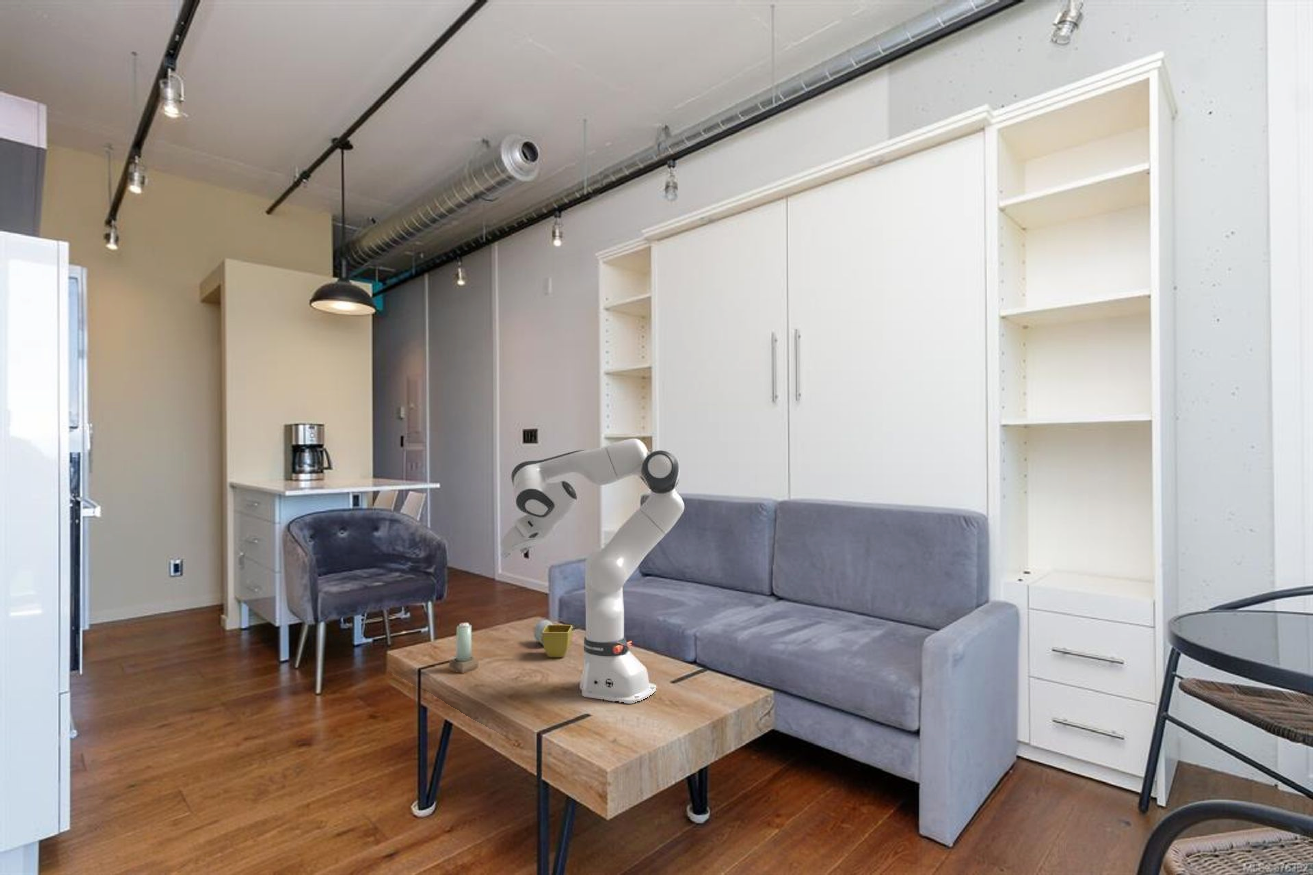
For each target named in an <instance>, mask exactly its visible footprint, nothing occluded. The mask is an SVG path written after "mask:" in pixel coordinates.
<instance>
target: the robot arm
mask: <svg viewBox="0 0 1313 875" xmlns="http://www.w3.org/2000/svg"><path fill="white" fill-rule="evenodd" d="M570 473H578V474H580V475H582V476H583V477H584V478H586V479H587V481H588V482H590V483H593V484H594V485H596V486H597V485H598V486H606V485H610V484H613V483H615V482H618V481H620V480H623V479H625V478H627V477H628V478H629V477H631V476H639V478H640V479H641V480H642V482H643V483H644V484H645V485H646V486H647V488H649V490H650V493H649V496H648V497H647V499H646V500H645V501H644V503H642V504H641V505H640V506H639V507H638V509H636V511H634V512H633V514H632V515H631V516H629V518H628V519H627V520H626V521H625V522H623V524H622V525H621V526H619V528H618V530H617V531H616V532H615V534H614V535H613V537H612V538H611V539H610V540H609V542H608V543H607V544H606V545H605V546H604V547H599V548H596V549H594V550H592V551H591V552H590V553H589V554H588V556H587V557H586V560H585V563H584V584H585V585H584V588H585V589H584V590H585V592H584V593H585V635H584V637H583V651H584V664H583V669H582V675H581V679H580V682H579V683H580V684H579V689H580V690H581V696H582V697H584V698H591V699H597V700H603V699H604V700H603V701H608V702H609V701H611V702H615V701H619V702H618V703H621V702H624V703H623V704H629V705H631V704H635V702H636V703H638V702H637V701H640V702H642V701H644V700H643V699H645V698H647V697H648V698H650V697H651V696H650V695H652V694H653V693H654V692H655V691H656V692H657V690H656V688H657V685H656V684H654V683H653V682H652V683H651V682H650V679H649V675H648V674H649V672H648V669H647V668H646V666H645V665H644V664H643V663H642V662H640V661H639V659H638V658H636V656H635V655H634V654H633V653H632V652H631V651H630V648H629V646H632V645H633V644H632V640H630V641H627V639H626V636H625V634H624V633H625V607H624V592H623V591H624V590H623V587H624V585H625V583H626V582H627V581H628V580H629V579H630V577H631V576H632V575H633V573H634V572H635V571H636V569H637V568H639V565H640V564H641V562H642V561H643V560H644V558H645V557H647V555H648V554H649V553H650V552H651V551H652V550H653V548H655V547H656V545H657V544H658V543H659V542H660V541H661V540H662V539H663V538H664V537H665V536H666V535H667V534H668V533H669V532H670V531H671V529H672V528H673V527H674V526H675V525H676V523H677V522H678V521H679V519H680V518H681V516H682V515H683V513H684V510H685V503H684V501H683V499H682V497H681V495H680V494H678V493H677V492H678V491H676V487H677V485H678V483H679V481H680V477H681V476H680V475H681V470H680V465H679V463H678V460H677V458H676V457H675V456H674V455H673V454H672V453H671V452H669V451H667V450H654V451H652V452H649V451H648V448H647V446H646V445H645V443H644V442H642V441H641V440H640V439H638V438H629V439H624V440H619V441H615V442H613V443H609V444H607V445H605V446H603V447H598V448H595V449H590V450H589V449H580V450H574V451H570V452H566V453H563V454H560V455H556V456H552V457H548V458H545V459H539V460H526V461H524V462H523V461H522V462H521V463H519V464H517V465H516V466H515V467H514V468H513V470H512V471H511V476H510V478H511V482H512V486H513V492H514V499H515V503H516V507H517V509H518V510H520V511H521V512H522V513H524V514H525V515H524V516H521V517H520V518H517V519H516V520H515V521H514V525H513V526H511V528H510V529H509V530H508V531H507V532H506V533H505V535H504V536H503V537H502V539H501V541H500V546H501V547H502V549H503V551H501V557H502V558H505V559H506V558H508V557H509V556H510V555H511V552H513V551H516V550H519V552H520V553H521V554H526V553H527V552H528V551H529V550H530V549H532V548H533V547H534V546H539V545H542V544H544V543H545V542H546V541H547V540H548V539H549V538H550V537H551V535H552V534H553V532H554V530H555V529H556V527H557V526H558V524H559V523H560V521H563V520H564V519H565V518H566V517H567V515H568V514H570V512H571V511H572V509H573V508H574V506H575V505H576V503H577V501H578V497H577V496H578V494H577V492H576V490H575V488H574V487H573V486H572V484H570V483H569V482H568V481H565V480H561V481H559V482H547V481H548V480H549V479H551V478H555V477H558V476H562V475H563V476H564V475H566V474H570ZM657 689H658V688H657ZM656 692H655V693H656ZM655 693H654V694H655ZM654 694H653V695H654ZM653 695H652V696H653ZM649 696H650V697H649ZM648 698H647V699H648ZM641 700H642V701H641ZM645 700H646V699H645Z"/></svg>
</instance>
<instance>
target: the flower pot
mask: <svg viewBox="0 0 1313 875" xmlns="http://www.w3.org/2000/svg"><path fill="white" fill-rule="evenodd" d="M572 633H573V625H572V624H553V625H547V626H546V627H545V629H544V630H543V632H542V636H543V644H542V646H543V649H544V653H545V654H546V655H547V657H548V658H561V657H562V658H565V655H566V654H567V652H568V650H569V647H570V644H571V640H572Z"/></svg>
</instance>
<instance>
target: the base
mask: <svg viewBox="0 0 1313 875" xmlns="http://www.w3.org/2000/svg"><path fill="white" fill-rule="evenodd" d="M448 667H449V669H450V670H449V669H448V670H449V671H451V670H453V671H452V672H454V671H457V672H456V673H458V672H460V673H459V674H462V673H463V674H466V673H468V672H467V671H469V672H471V670H472V671H474V670H476V668H477V669H479V658H477V657H473V656H471V659H470V660H468V661H457V660H456V657H455V658H453V659H450V660H449V666H448ZM473 669H474V670H473ZM465 672H466V673H465Z"/></svg>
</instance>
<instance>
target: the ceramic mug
mask: <svg viewBox="0 0 1313 875" xmlns="http://www.w3.org/2000/svg"><path fill="white" fill-rule="evenodd" d="M547 625H554V623H552V622H551V621H550V620H548V619H544V620H543V619H542V620H541V621H538V623H537V624H536V625H535V626H534V629H533V636H534V638H535V640H536V641H538V642H539V643H540V644H541V645H543V636H542V632H543V630H544V629H545V627H546V626H547Z"/></svg>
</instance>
